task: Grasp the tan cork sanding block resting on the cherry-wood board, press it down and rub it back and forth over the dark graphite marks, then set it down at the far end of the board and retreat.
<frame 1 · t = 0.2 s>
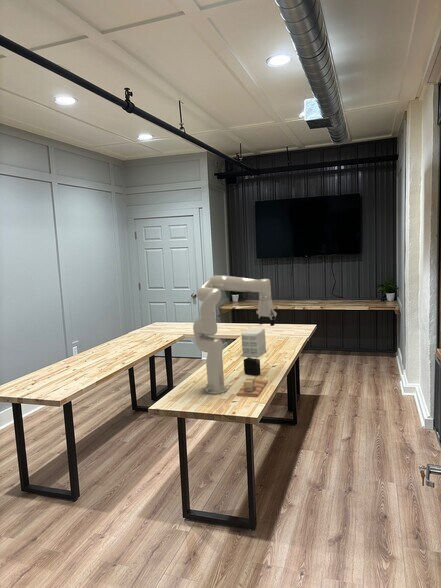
hand: (267, 324, 270), 31 cm above the table, fingers open, 9 cm apart
electronic device: (252, 374, 271), on the table
board: (252, 389, 244), on the table
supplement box: (254, 354, 319), on the table
sanding block: (250, 390, 238), point 2 cm above the table, touching board
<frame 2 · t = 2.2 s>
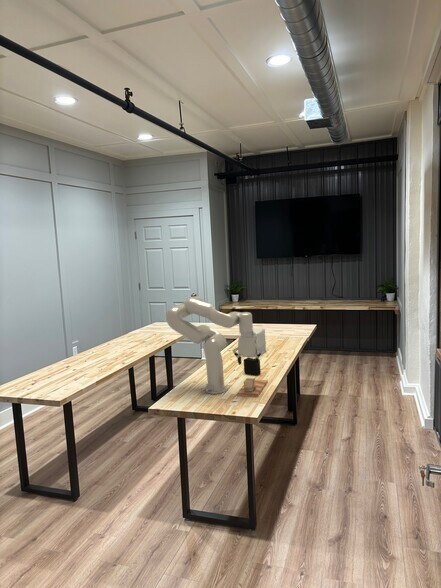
hand: (248, 364, 236), 16 cm above the table, fingers open, 9 cm apart
nothing on the table moved.
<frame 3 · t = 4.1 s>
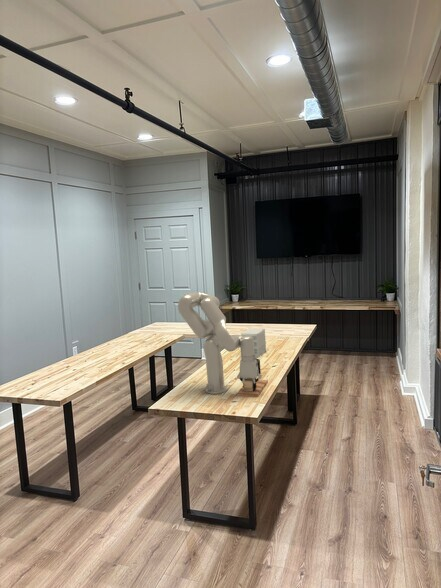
hand: (250, 389, 238), 2 cm above the table, fingers closed on sanding block, 4 cm apart
sanding block: (250, 390, 238), point 2 cm above the table, touching board, gripper
everything else where it was.
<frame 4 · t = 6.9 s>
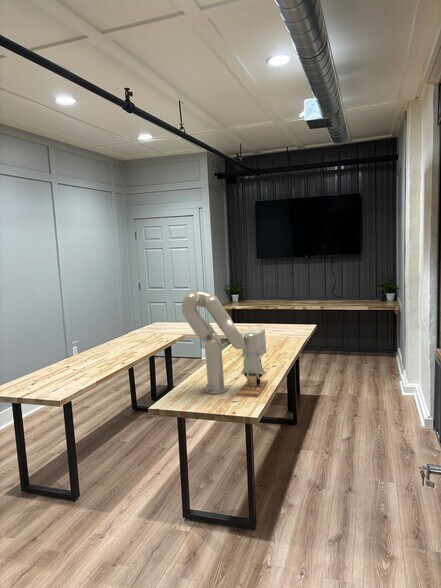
hand: (254, 384, 246), 2 cm above the table, fingers closed on sanding block, 4 cm apart
sanding block: (253, 384, 246), point 2 cm above the table, touching gripper
everything else where it was.
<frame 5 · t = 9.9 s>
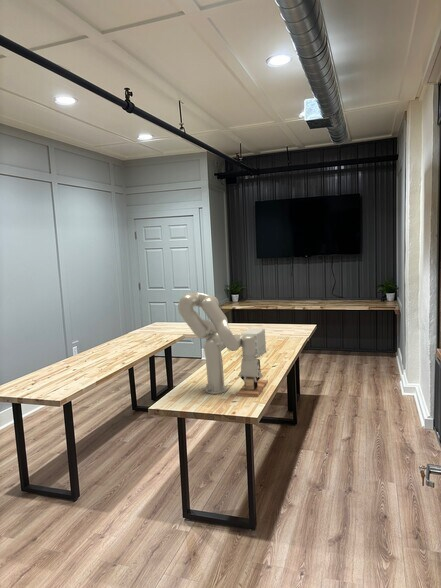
hand: (251, 387, 241), 2 cm above the table, fingers closed on sanding block, 4 cm apart
sanding block: (251, 388, 241), point 2 cm above the table, touching gripper
everything else where it was.
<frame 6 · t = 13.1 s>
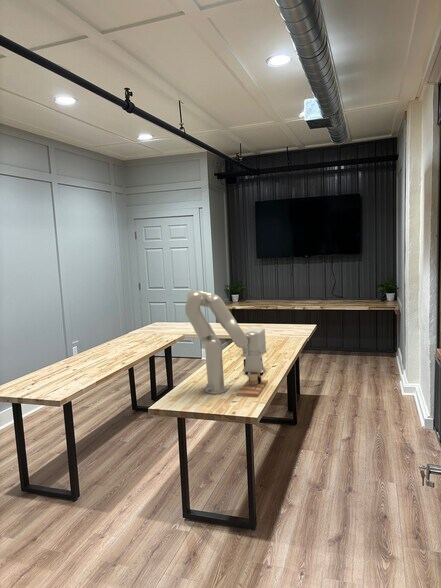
hand: (255, 382, 249), 2 cm above the table, fingers closed on sanding block, 4 cm apart
sanding block: (255, 383, 249), point 2 cm above the table, touching gripper
everything else where it was.
when the fingers open (3 cm above the table, at t = 15.9 s): sanding block drops 1 cm, resting on board.
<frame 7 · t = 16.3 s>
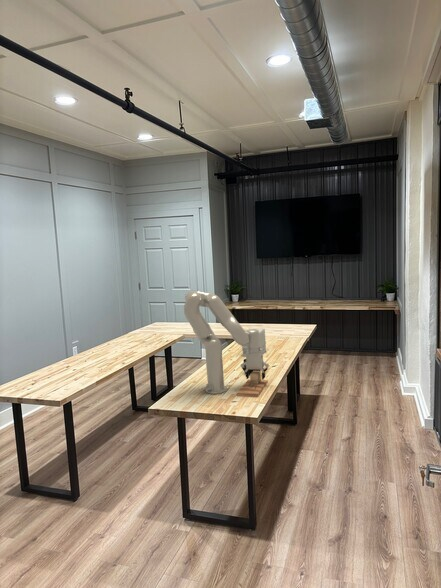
hand: (255, 378, 250), 4 cm above the table, fingers open, 9 cm apart
sanding block: (255, 382, 250), point 2 cm above the table, touching board
everything else where it was.
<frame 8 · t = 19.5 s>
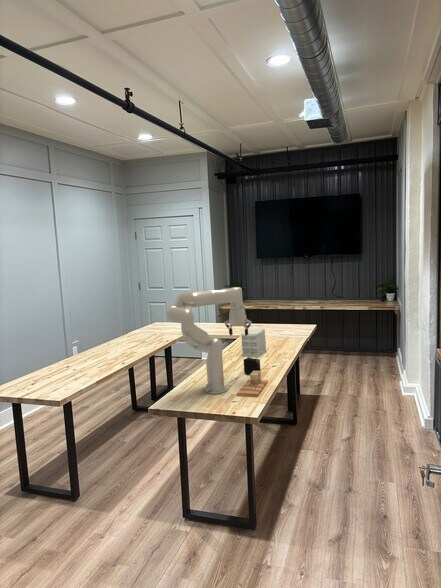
hand: (238, 335, 258), 28 cm above the table, fingers open, 9 cm apart
nothing on the table moved.
at the end: sanding block inside the target area on the board (0.1 cm from its centre), point 1.5 cm above the board's base; sanding block tilted 0°; the gripper is holding nothing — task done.
